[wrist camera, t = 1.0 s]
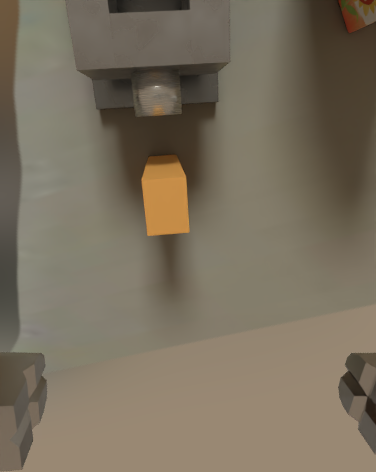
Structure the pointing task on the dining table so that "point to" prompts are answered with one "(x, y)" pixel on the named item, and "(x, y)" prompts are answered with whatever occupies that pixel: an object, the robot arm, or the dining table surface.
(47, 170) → the dining table surface
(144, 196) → the orange rectangular bar
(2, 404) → the robot arm
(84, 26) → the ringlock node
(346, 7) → the cracker box
